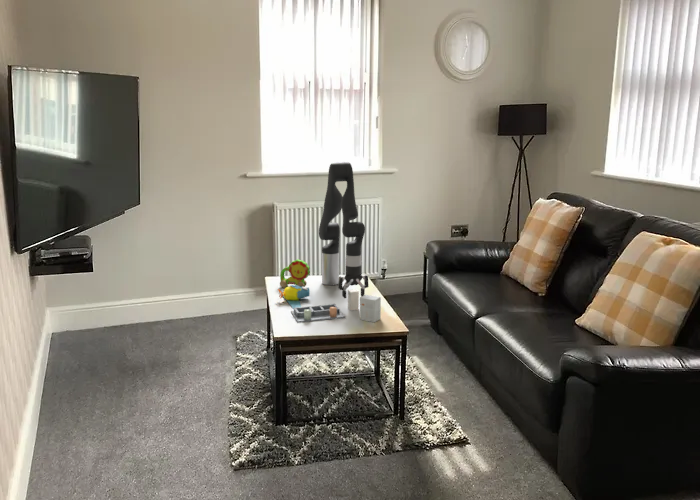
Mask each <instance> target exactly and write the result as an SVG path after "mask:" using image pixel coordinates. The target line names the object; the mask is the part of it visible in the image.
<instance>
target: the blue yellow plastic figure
mask: <svg viewBox="0 0 700 500" xmlns="http://www.w3.org/2000/svg"><path fill="white" fill-rule="evenodd" d="M277 291H278V294H279V296H278V297H279V299H282V298H283V299H285V300H286V302H287V303H288V304H289V305H290V307H291V308H292V309H293V310H294V308H296V307H302V304H301V302H300V300H302V299H305V298H307V297H310V292H311V291H310V287H307V286H305V287H304V286H297V285H294V284H289V286H286V287H284V289H283V292H282V291H281V290H280V289H279V288H278V289H277Z"/></svg>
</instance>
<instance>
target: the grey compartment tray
mask: <svg viewBox="0 0 700 500" xmlns="http://www.w3.org/2000/svg"><path fill="white" fill-rule="evenodd" d="M290 313H291V315H292V316H293V318H294V319H295V320H296V322H297V324H298V323H305V322H307V323H308V321H309V322H318V321H325V320H337V319H345V318H346V317H345V314H343V312H341V311H340V308H339V307H338V305H337V304H336V303H330V304H320V305H309V306H307V305H306V306H301V307H296V308H294V309H293V310H291V311H290Z"/></svg>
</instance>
